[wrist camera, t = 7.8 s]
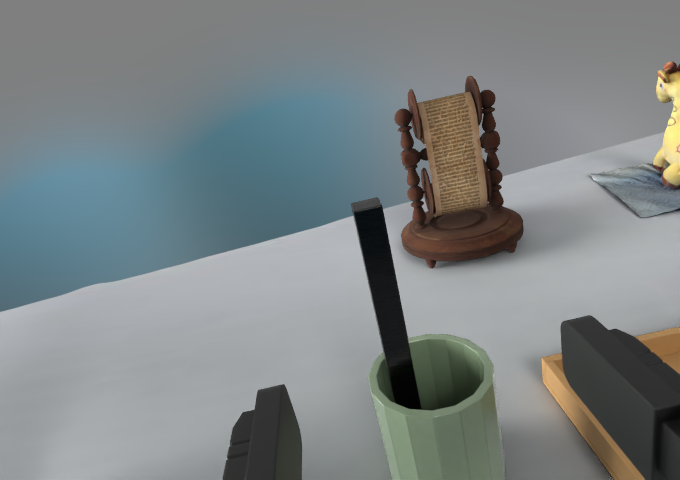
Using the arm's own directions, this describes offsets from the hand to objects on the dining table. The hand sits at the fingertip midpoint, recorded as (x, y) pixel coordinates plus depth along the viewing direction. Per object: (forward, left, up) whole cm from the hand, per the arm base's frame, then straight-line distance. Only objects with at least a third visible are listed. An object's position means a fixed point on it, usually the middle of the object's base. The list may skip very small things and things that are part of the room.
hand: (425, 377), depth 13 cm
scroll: (+37, +24, -17) cm, 47 cm away
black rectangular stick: (+8, +7, -16) cm, 19 cm away
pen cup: (+8, +7, -17) cm, 20 cm away
